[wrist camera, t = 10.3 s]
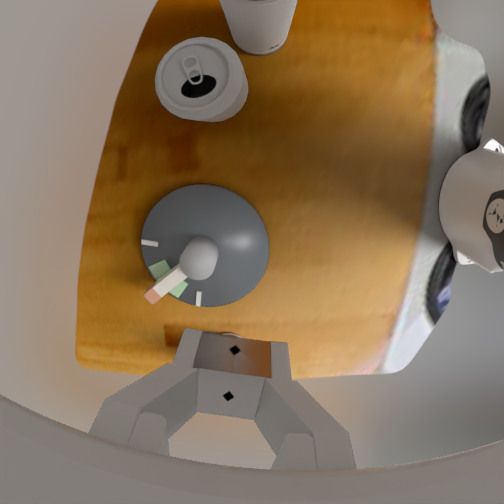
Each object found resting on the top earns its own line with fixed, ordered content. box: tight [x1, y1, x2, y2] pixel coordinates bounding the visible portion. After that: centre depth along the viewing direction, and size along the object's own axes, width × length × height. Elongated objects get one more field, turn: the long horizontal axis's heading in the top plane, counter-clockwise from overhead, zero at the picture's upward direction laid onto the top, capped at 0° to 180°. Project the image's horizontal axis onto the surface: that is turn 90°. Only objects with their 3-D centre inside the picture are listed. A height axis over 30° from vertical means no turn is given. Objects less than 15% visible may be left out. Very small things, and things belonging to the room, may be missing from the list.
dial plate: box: [141, 184, 269, 307], centre depth 39 cm, size 16×16×1 cm
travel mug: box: [220, 0, 298, 55], centre depth 20 cm, size 6×7×20 cm
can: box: [155, 37, 248, 122], centre depth 26 cm, size 8×8×12 cm
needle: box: [143, 236, 219, 305], centre depth 37 cm, size 11×4×4 cm, turn 129°
